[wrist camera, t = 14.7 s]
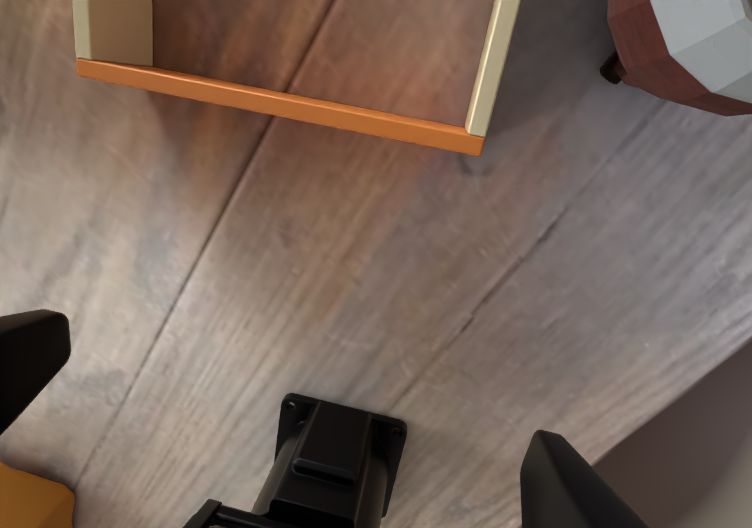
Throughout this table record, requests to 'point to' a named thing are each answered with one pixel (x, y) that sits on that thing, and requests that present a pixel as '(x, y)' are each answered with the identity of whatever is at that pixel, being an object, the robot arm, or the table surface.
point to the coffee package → (33, 501)
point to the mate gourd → (684, 51)
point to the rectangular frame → (134, 68)
